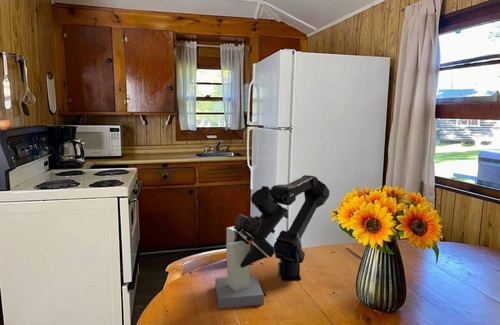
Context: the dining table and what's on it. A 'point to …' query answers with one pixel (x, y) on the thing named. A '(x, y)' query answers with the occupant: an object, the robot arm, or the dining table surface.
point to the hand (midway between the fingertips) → (235, 261)
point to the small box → (232, 237)
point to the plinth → (238, 294)
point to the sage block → (237, 265)
